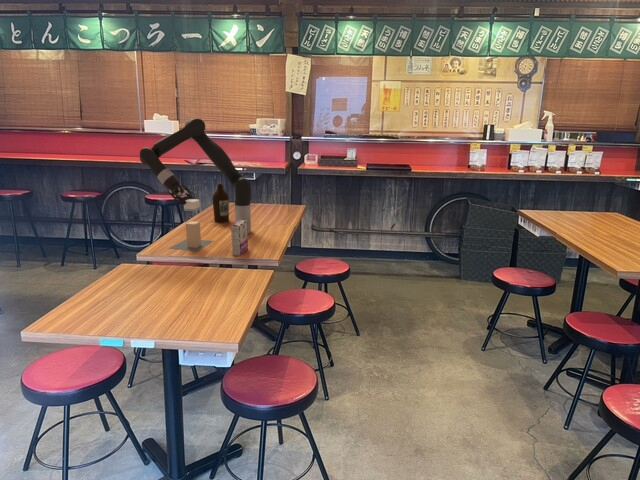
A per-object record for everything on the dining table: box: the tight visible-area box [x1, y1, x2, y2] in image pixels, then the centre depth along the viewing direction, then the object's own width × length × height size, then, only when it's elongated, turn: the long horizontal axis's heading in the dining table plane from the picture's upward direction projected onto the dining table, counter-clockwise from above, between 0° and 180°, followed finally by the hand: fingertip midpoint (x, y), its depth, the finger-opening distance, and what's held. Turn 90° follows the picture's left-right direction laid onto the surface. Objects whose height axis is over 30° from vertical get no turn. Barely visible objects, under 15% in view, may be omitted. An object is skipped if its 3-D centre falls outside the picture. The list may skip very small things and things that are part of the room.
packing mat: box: [167, 238, 215, 252], centre depth 266 cm, size 20×17×1 cm
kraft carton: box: [185, 220, 202, 248], centre depth 262 cm, size 5×5×13 cm
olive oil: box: [211, 182, 230, 223], centre depth 319 cm, size 11×11×25 cm
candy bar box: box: [230, 220, 249, 256], centre depth 254 cm, size 11×5×16 cm, turn 168°
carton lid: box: [183, 198, 201, 212], centre depth 257 cm, size 6×6×5 cm
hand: (189, 202), depth 257 cm, fingers open, 8 cm apart
